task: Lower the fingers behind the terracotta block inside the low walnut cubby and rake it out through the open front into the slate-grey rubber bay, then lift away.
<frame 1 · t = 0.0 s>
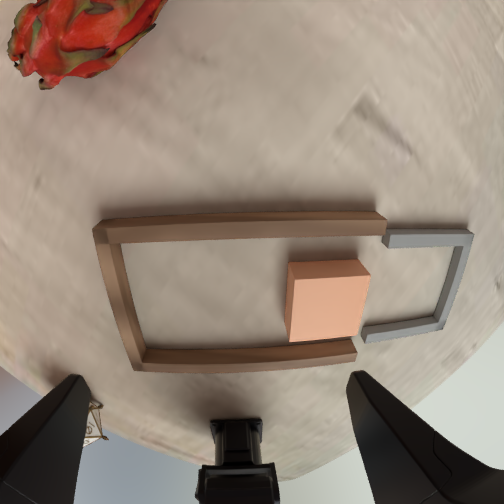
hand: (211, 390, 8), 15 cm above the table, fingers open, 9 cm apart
game die: (83, 395, 30), on the table
grey bay: (412, 284, 25), on the table
dragon fruit: (109, 30, 15), on the table
walnut cubby: (250, 296, 24), on the table
terracotta block: (319, 290, 25), on the table
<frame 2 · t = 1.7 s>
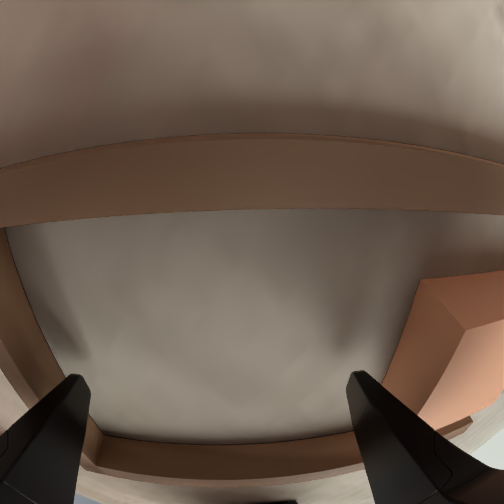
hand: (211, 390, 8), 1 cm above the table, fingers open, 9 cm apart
walnut cubby: (323, 360, 10), on the table
terracotta block: (449, 331, 10), on the table
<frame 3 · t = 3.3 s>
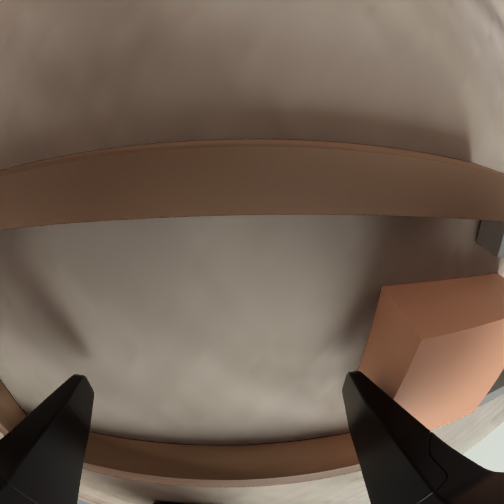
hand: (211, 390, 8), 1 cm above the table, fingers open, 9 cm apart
grey bay: (500, 325, 10), on the table
walnut cubby: (159, 367, 9), on the table
terracotta block: (422, 337, 10), on the table
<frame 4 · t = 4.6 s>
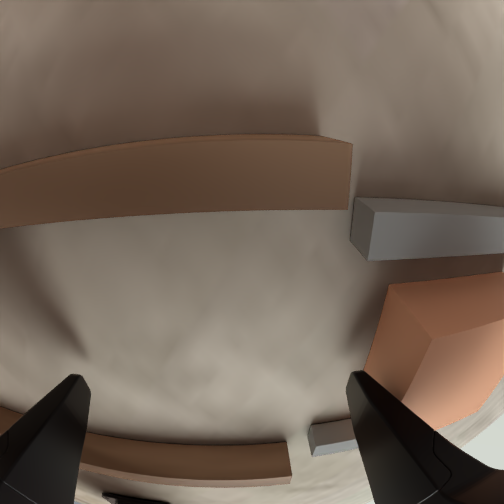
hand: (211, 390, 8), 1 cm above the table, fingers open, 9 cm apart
grey bay: (430, 342, 10), on the table
walnut cubby: (42, 355, 9), on the table
terracotta block: (428, 336, 10), on the table
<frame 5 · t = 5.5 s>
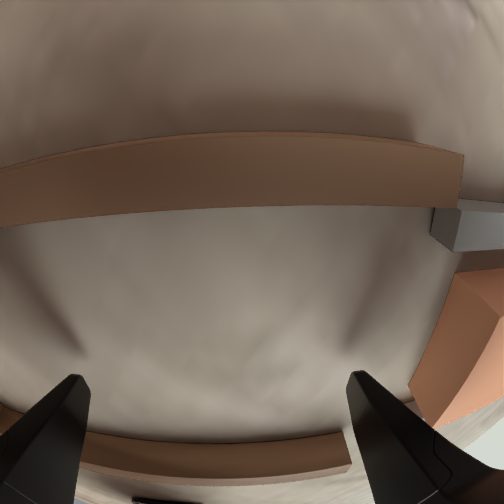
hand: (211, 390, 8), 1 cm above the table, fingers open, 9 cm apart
grey bay: (475, 327, 10), on the table
walnut cubby: (99, 361, 9), on the table
terracotta block: (474, 322, 10), on the table
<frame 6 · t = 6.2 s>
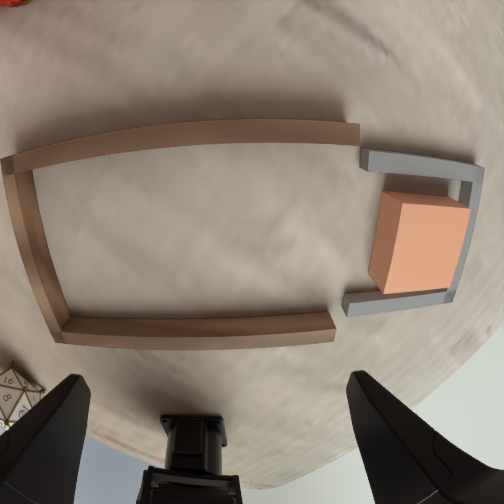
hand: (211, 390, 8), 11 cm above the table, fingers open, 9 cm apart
game die: (25, 377, 24), on the table
grey bay: (408, 234, 19), on the table
walnut cubby: (180, 241, 18), on the table
terracotta block: (408, 232, 19), on the table
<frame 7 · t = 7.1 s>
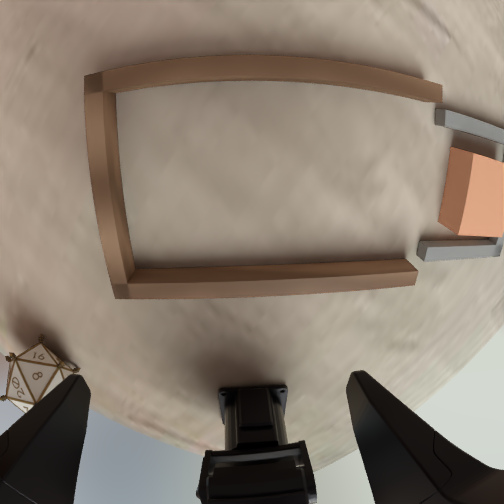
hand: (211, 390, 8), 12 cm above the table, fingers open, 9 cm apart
game die: (55, 355, 24), on the table
grey bay: (468, 189, 19), on the table
walnut cubby: (283, 177, 18), on the table
terracotta block: (467, 188, 19), on the table
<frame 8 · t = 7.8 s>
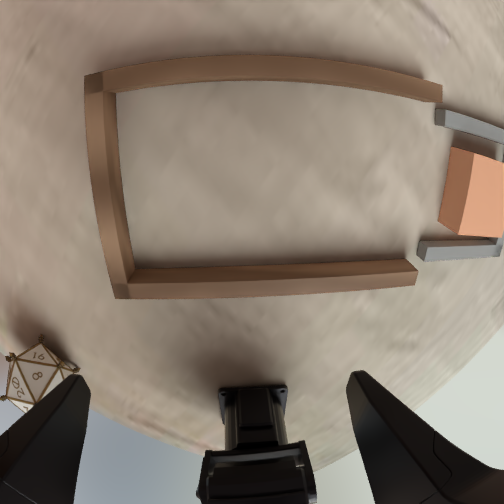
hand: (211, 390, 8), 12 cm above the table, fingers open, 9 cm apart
game die: (55, 355, 24), on the table
grey bay: (468, 189, 19), on the table
walnut cubby: (283, 177, 18), on the table
terracotta block: (467, 188, 19), on the table
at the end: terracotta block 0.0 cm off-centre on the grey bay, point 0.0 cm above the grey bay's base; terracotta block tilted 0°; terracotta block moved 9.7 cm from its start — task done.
